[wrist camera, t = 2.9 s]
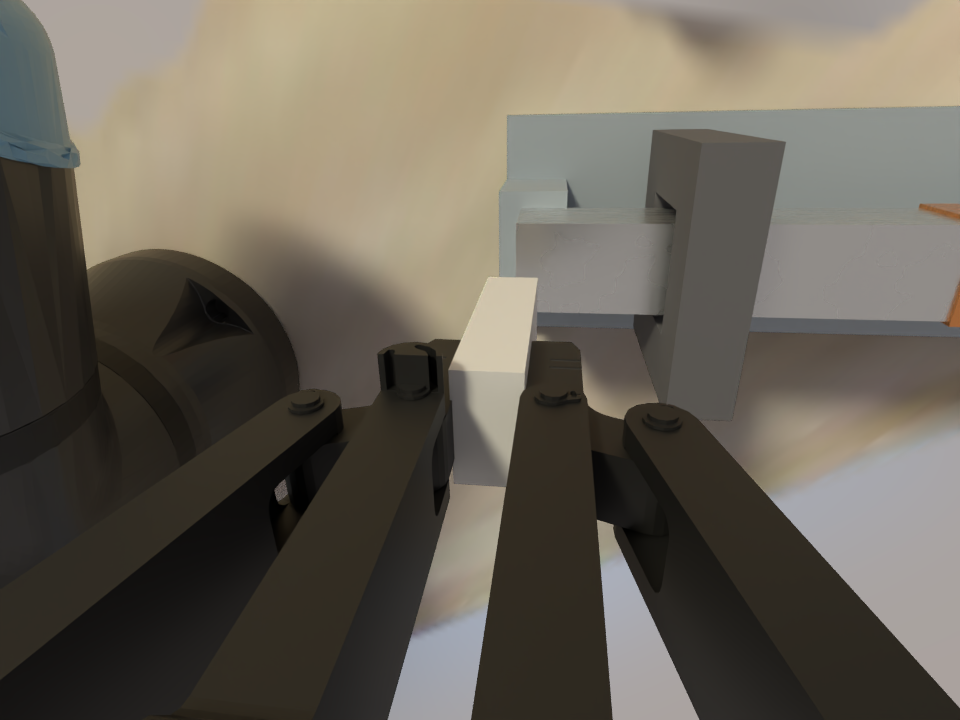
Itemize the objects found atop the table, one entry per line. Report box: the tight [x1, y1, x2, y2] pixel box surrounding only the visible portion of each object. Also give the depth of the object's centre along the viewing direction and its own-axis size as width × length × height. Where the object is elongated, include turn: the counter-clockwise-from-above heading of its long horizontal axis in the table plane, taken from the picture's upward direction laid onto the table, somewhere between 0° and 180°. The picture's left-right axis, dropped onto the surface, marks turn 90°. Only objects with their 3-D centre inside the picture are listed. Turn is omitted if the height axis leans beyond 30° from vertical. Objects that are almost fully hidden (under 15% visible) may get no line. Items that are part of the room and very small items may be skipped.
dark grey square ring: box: [633, 129, 786, 421], centre depth 23 cm, size 2×10×10 cm, turn 1°
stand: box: [499, 106, 960, 337], centre depth 26 cm, size 26×11×5 cm, turn 91°
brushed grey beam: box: [516, 204, 960, 327], centre depth 22 cm, size 24×4×4 cm, turn 91°
